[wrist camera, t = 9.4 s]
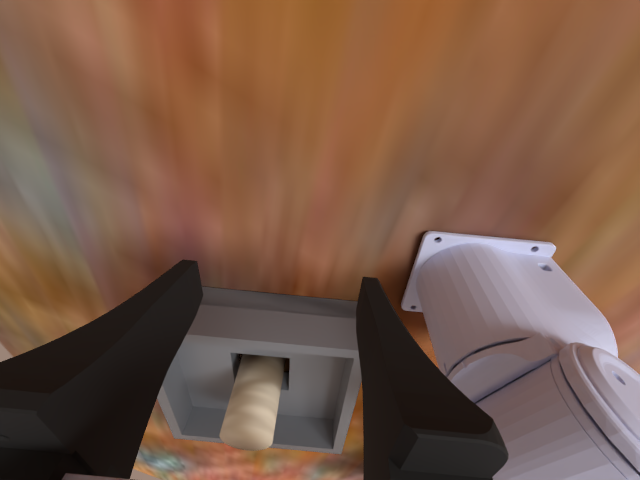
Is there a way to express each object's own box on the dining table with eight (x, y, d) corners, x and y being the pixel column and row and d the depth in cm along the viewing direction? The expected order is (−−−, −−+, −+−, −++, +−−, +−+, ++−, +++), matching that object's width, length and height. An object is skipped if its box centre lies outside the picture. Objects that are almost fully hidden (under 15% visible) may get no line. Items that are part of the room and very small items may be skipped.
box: (365, 302, 27) (369, 351, 23) (341, 407, 37) (341, 454, 33) (160, 282, 27) (127, 328, 23) (192, 392, 37) (174, 438, 33)
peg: (281, 340, 31) (266, 426, 24) (289, 366, 33) (277, 450, 27) (238, 341, 31) (212, 426, 25) (249, 367, 34) (228, 450, 27)
